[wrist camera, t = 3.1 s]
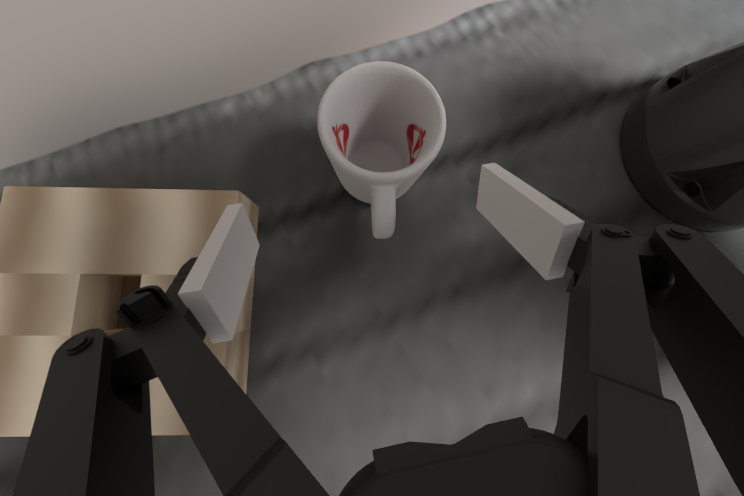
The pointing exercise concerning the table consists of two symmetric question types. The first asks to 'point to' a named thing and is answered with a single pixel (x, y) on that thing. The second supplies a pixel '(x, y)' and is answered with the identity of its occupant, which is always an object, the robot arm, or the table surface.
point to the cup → (381, 134)
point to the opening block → (97, 279)
